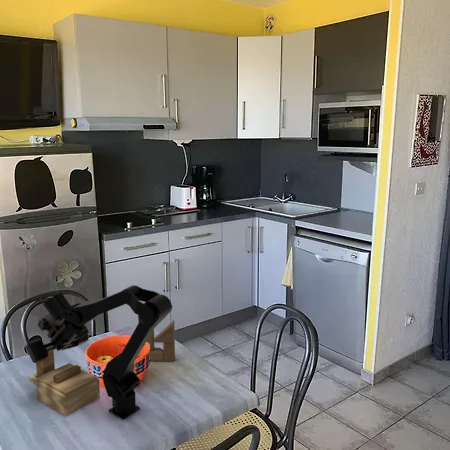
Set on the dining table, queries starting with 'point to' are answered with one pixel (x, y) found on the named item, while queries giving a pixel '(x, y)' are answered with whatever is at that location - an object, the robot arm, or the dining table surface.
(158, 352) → the wooden block
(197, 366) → the dining table surface
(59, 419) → the dining table surface
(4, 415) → the dining table surface
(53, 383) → the lid
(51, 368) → the brown block
